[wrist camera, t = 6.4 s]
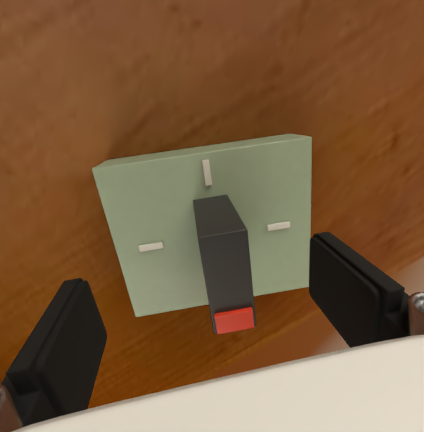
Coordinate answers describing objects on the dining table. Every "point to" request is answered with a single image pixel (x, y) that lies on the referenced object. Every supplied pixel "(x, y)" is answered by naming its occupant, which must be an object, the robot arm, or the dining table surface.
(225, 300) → the knob
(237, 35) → the dining table surface
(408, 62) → the dining table surface
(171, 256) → the panel
